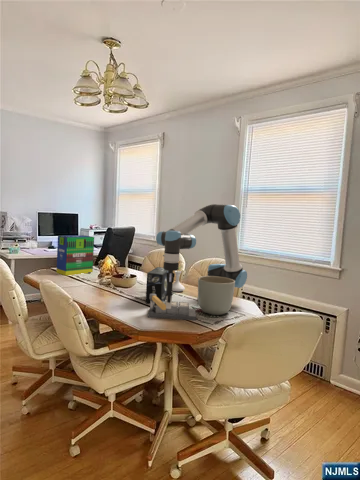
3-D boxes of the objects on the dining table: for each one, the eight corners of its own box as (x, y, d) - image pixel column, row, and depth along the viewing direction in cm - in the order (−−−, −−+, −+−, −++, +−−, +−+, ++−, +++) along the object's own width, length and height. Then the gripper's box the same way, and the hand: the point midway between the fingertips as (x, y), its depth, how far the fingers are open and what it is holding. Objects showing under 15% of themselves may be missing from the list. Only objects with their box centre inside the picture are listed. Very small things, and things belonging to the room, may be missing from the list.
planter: (205, 304, 210) (208, 274, 208) (237, 311, 199) (240, 279, 198) (189, 312, 192) (191, 279, 190) (223, 320, 181) (226, 285, 180)
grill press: (194, 312, 192) (195, 299, 192) (195, 320, 178) (196, 306, 178) (150, 309, 192) (150, 296, 191) (148, 317, 178) (148, 303, 177)
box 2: (161, 305, 202) (163, 274, 200) (144, 303, 203) (146, 272, 202) (170, 296, 224) (171, 268, 223) (155, 294, 226) (157, 266, 225)
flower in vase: (184, 289, 248) (186, 255, 246) (185, 293, 236) (187, 257, 234) (166, 288, 247) (168, 254, 245) (166, 291, 236) (168, 256, 234)
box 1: (83, 270, 295) (84, 235, 292) (92, 272, 286) (94, 237, 284) (56, 272, 276) (57, 235, 273) (65, 275, 267) (67, 237, 265)
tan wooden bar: (148, 298, 185) (148, 293, 185) (155, 298, 186) (155, 293, 186) (160, 310, 164) (160, 305, 164) (167, 310, 166) (167, 304, 165)
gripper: (164, 259, 176) (161, 304, 178) (163, 263, 163) (160, 311, 165) (178, 260, 176) (175, 305, 178) (179, 264, 163) (176, 312, 165)
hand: (168, 308), depth 171 cm, fingers closed
